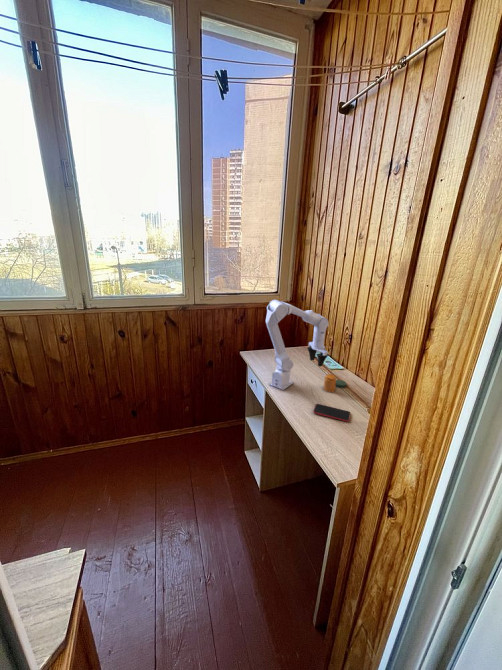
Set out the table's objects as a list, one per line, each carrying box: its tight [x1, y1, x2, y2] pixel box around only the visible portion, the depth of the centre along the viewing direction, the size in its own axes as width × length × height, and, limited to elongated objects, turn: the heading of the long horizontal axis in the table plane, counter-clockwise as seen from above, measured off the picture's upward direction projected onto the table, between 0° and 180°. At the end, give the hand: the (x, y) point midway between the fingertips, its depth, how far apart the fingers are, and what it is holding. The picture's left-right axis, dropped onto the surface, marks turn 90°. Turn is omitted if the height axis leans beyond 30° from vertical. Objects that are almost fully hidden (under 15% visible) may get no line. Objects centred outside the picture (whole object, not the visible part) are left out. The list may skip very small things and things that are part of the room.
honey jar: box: [323, 373, 337, 393], centre depth 147 cm, size 6×6×7 cm
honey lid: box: [335, 379, 347, 389], centre depth 152 cm, size 6×6×1 cm
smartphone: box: [312, 403, 351, 423], centre depth 128 cm, size 7×1×15 cm
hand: (316, 363), depth 155 cm, fingers open, 7 cm apart
